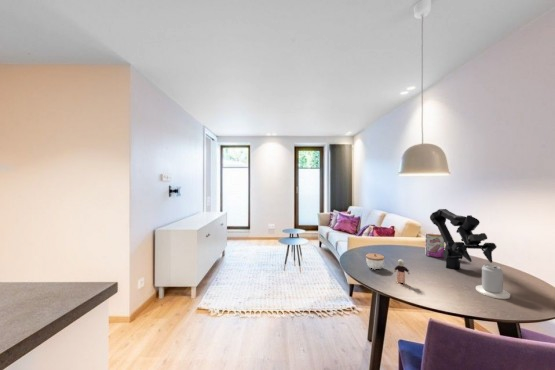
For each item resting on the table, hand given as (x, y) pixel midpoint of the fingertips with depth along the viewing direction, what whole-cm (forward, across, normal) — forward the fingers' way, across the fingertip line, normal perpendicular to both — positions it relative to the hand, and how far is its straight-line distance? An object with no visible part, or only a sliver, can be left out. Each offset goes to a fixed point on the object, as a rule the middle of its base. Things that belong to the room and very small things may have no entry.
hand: (481, 261), depth 116 cm
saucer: (+14, 0, +4) cm, 14 cm away
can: (+13, 0, +3) cm, 14 cm away
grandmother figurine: (+10, -39, +8) cm, 41 cm away
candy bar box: (-25, 0, +43) cm, 50 cm away
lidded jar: (-4, -47, +22) cm, 52 cm away
